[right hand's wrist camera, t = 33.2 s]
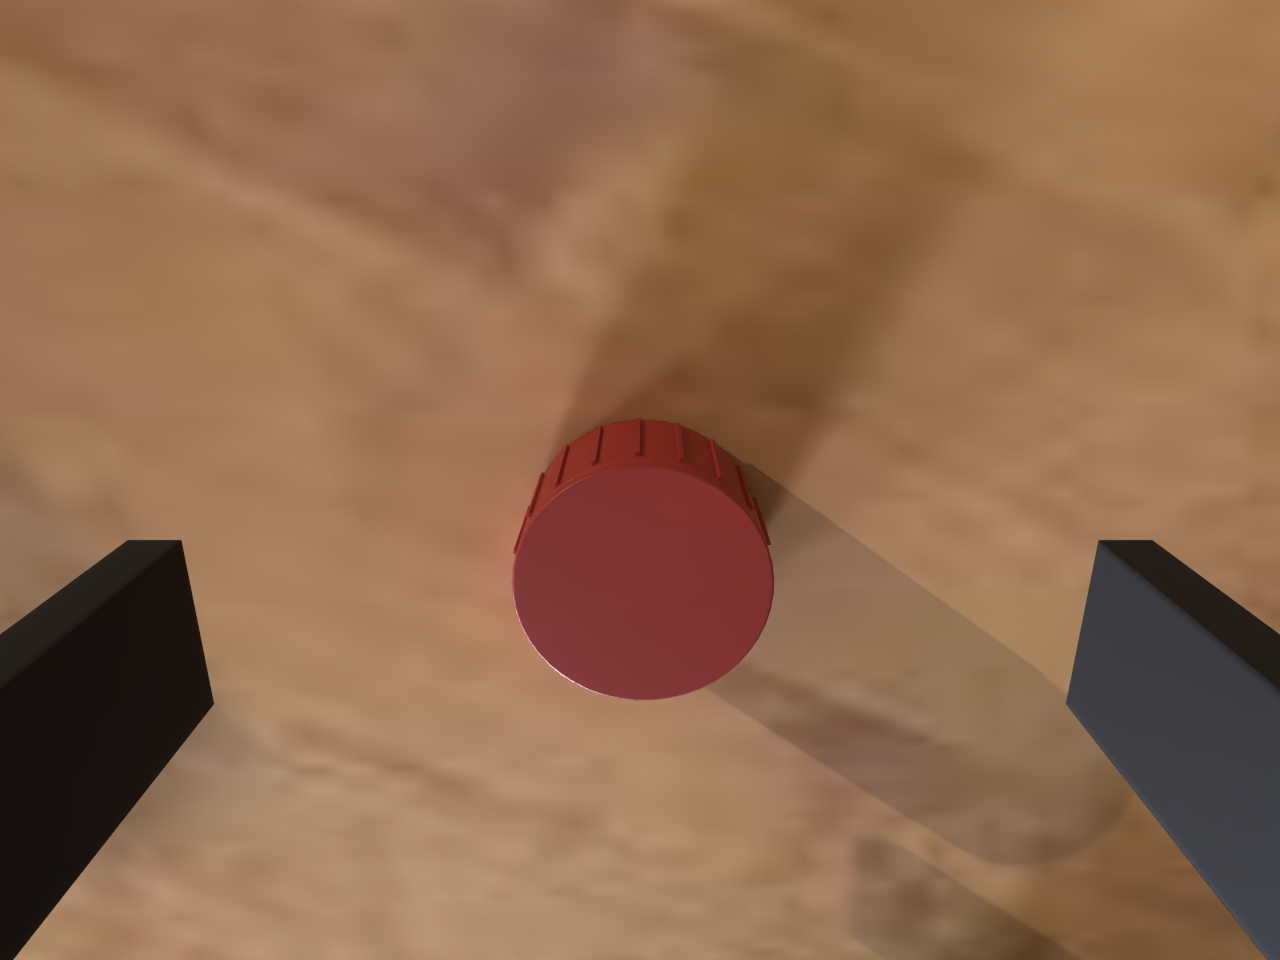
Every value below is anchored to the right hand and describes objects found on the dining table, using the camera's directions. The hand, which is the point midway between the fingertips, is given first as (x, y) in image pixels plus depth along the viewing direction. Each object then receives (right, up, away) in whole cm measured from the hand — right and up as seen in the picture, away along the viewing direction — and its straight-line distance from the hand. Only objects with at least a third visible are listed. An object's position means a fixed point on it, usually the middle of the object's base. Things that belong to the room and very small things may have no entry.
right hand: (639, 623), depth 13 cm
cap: (0, 0, +1) cm, 1 cm away
